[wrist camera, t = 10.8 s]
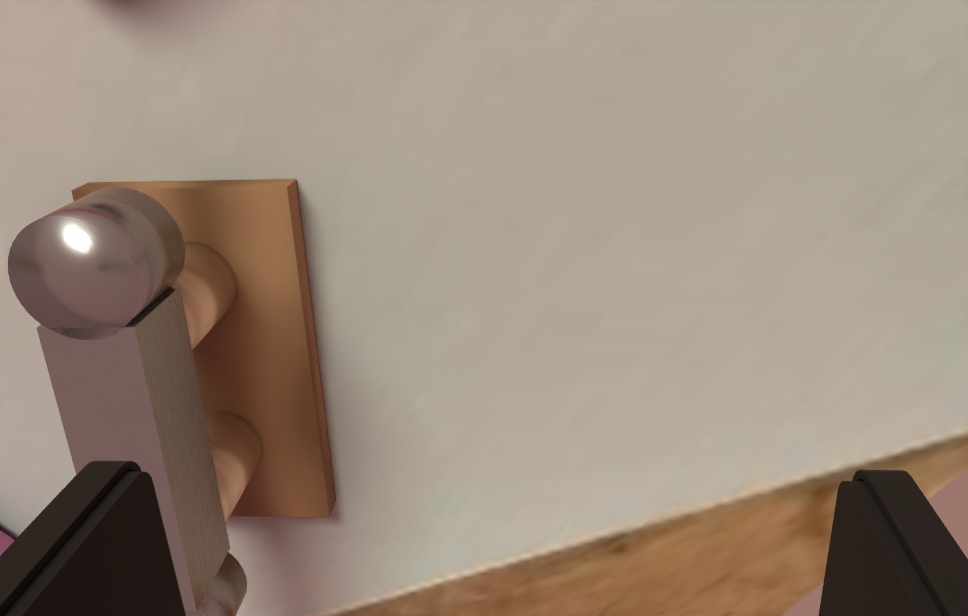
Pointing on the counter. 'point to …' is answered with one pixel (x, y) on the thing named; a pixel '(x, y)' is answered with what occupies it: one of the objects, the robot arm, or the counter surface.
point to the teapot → (4, 541)
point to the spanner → (130, 368)
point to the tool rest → (251, 341)
